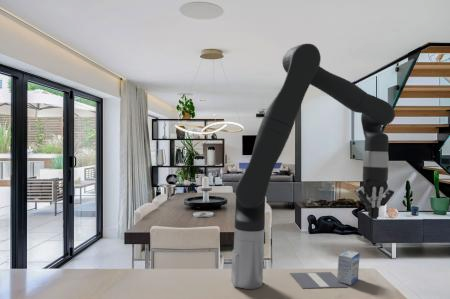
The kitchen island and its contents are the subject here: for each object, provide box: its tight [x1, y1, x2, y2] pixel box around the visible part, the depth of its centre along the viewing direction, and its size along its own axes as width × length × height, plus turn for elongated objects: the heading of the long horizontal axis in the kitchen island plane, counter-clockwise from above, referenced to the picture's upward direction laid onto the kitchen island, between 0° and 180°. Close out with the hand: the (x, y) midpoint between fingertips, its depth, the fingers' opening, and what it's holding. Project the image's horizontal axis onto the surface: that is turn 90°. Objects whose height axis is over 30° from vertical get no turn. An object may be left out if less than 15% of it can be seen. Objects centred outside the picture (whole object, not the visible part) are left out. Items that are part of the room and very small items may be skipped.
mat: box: [289, 271, 349, 290], centre depth 113 cm, size 14×12×1 cm
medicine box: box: [336, 249, 360, 286], centre depth 113 cm, size 8×4×9 cm, turn 143°
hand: (373, 218), depth 114 cm, fingers closed
